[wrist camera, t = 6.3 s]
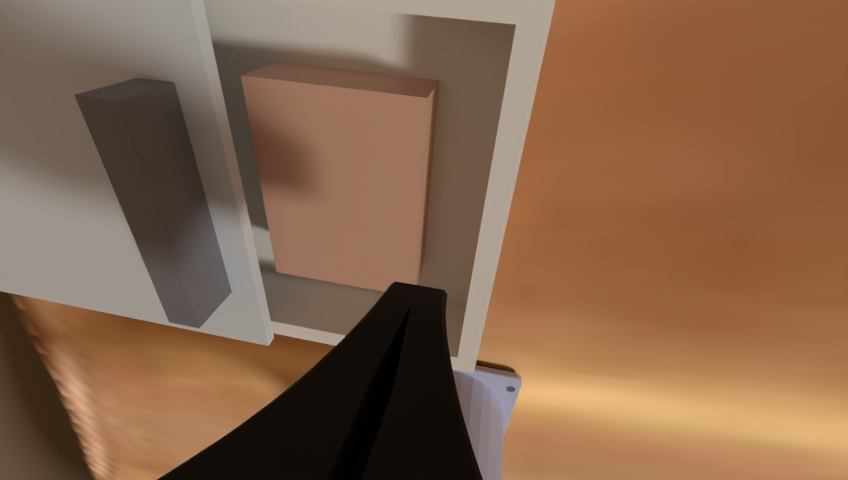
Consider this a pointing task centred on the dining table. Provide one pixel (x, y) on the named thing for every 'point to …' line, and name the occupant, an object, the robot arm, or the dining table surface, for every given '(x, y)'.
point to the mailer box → (378, 149)
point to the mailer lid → (123, 167)
